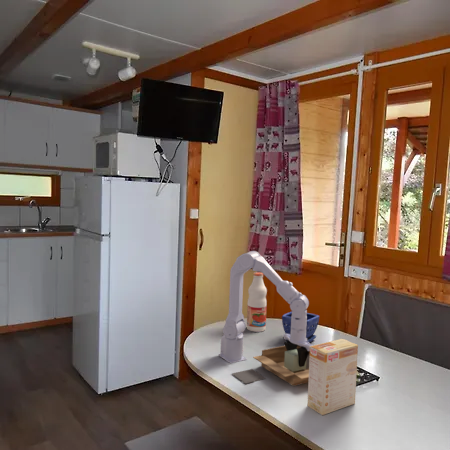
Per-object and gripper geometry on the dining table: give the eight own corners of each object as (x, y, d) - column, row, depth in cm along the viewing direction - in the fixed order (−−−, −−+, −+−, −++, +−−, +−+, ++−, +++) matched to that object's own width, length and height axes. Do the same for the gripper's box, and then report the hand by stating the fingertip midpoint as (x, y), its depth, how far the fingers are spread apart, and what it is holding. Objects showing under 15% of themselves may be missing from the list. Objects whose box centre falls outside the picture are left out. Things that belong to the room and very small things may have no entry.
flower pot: (293, 333, 203) (294, 309, 202) (319, 340, 195) (320, 314, 194) (279, 341, 192) (281, 315, 191) (306, 347, 184) (308, 321, 183)
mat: (231, 374, 154) (231, 373, 154) (252, 369, 159) (252, 368, 159) (245, 384, 147) (245, 383, 146) (266, 379, 151) (266, 378, 151)
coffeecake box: (339, 394, 141) (342, 338, 140) (356, 404, 135) (359, 344, 134) (306, 405, 133) (308, 345, 132) (322, 416, 127) (325, 353, 126)
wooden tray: (252, 368, 160) (253, 351, 160) (299, 358, 172) (299, 342, 172) (291, 393, 141) (292, 375, 140) (341, 380, 152) (342, 362, 152)
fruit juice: (257, 325, 214) (259, 270, 212) (269, 330, 207) (271, 273, 205) (242, 328, 209) (244, 272, 207) (254, 333, 201) (257, 275, 199)
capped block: (284, 366, 159) (284, 351, 159) (300, 363, 163) (301, 348, 163) (292, 371, 155) (293, 355, 154) (309, 367, 159) (309, 352, 158)
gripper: (320, 332, 154) (318, 368, 155) (294, 321, 166) (292, 355, 167) (305, 335, 150) (303, 372, 151) (280, 323, 162) (278, 358, 163)
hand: (296, 363), depth 159 cm, fingers closed on capped block, 5 cm apart
